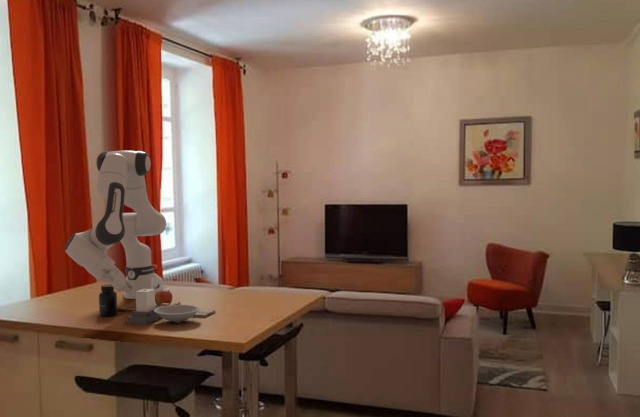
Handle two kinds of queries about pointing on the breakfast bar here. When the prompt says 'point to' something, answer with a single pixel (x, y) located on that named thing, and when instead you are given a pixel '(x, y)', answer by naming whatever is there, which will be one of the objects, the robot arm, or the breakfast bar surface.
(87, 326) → the breakfast bar surface
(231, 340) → the breakfast bar surface
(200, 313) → the cork pad
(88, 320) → the breakfast bar surface
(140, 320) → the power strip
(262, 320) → the breakfast bar surface
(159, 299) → the apple
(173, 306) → the dish
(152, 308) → the block
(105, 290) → the supplement bottle
